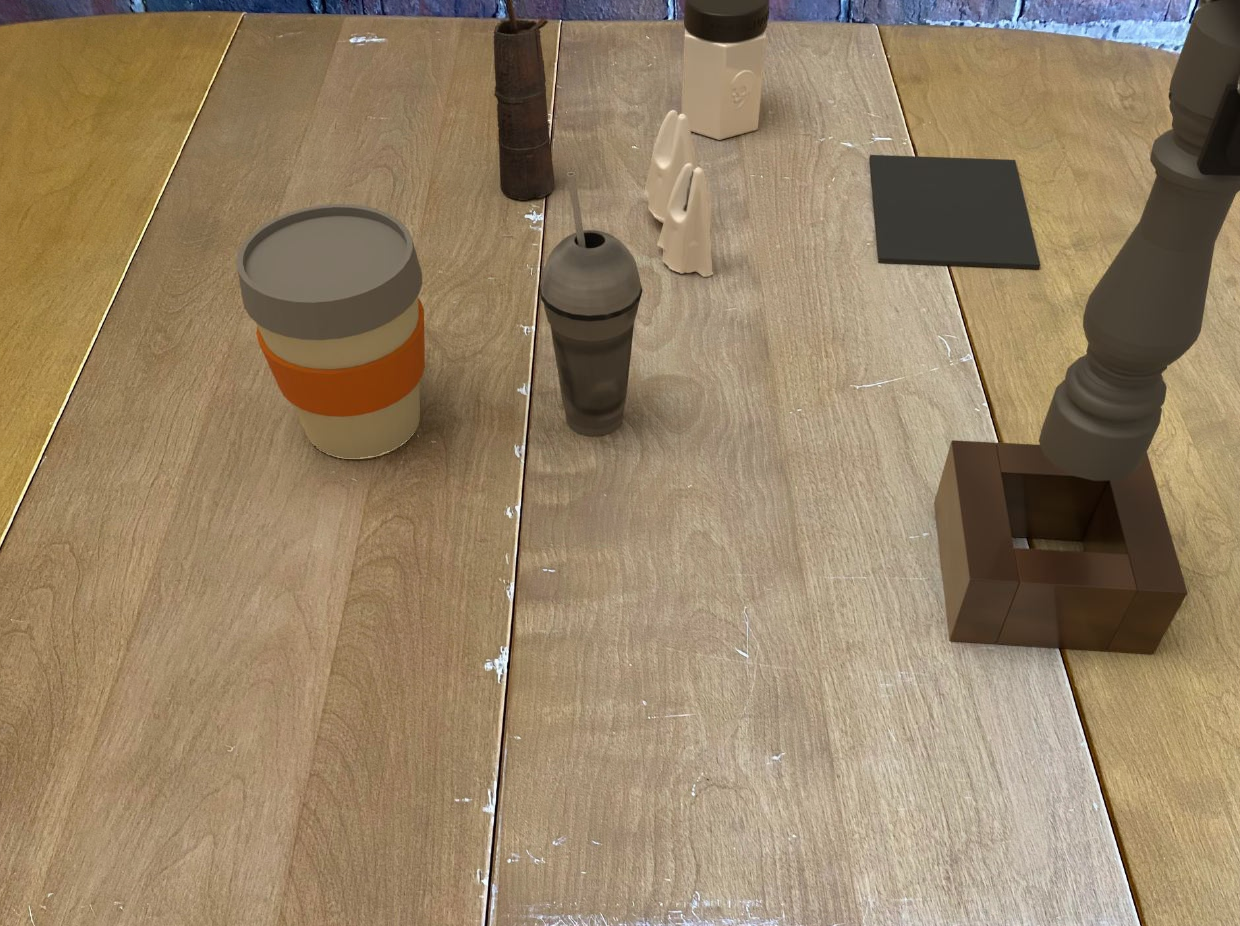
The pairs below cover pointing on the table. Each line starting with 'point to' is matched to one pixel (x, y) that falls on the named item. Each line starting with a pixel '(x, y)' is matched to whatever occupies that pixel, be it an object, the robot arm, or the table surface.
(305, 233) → the reusable coffee cup
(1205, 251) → the candle holder
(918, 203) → the mat
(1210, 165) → the robot arm
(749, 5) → the jar
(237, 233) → the table surface
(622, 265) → the beverage cup
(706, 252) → the shaker set
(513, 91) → the butter churn
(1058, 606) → the holder
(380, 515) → the table surface
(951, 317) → the table surface
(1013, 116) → the table surface
